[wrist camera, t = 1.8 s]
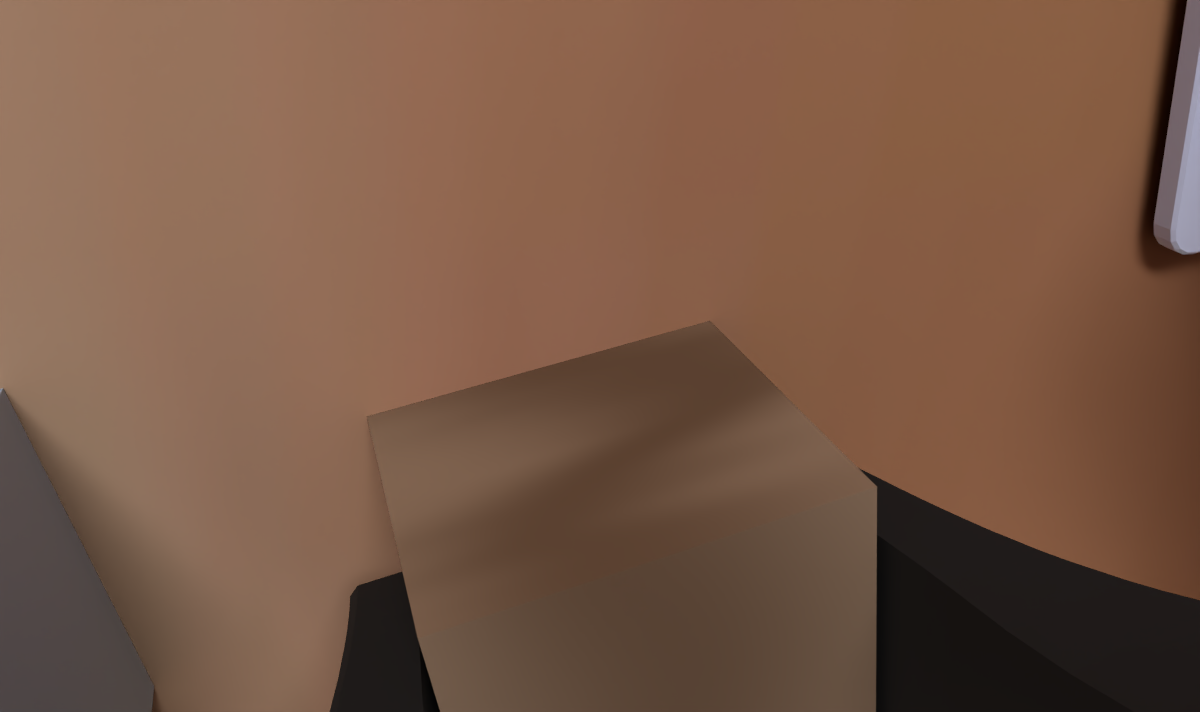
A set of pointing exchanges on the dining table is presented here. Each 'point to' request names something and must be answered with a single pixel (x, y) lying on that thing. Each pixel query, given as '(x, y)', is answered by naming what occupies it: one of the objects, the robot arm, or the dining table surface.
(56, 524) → the slate block
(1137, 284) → the dining table surface
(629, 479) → the walnut block
